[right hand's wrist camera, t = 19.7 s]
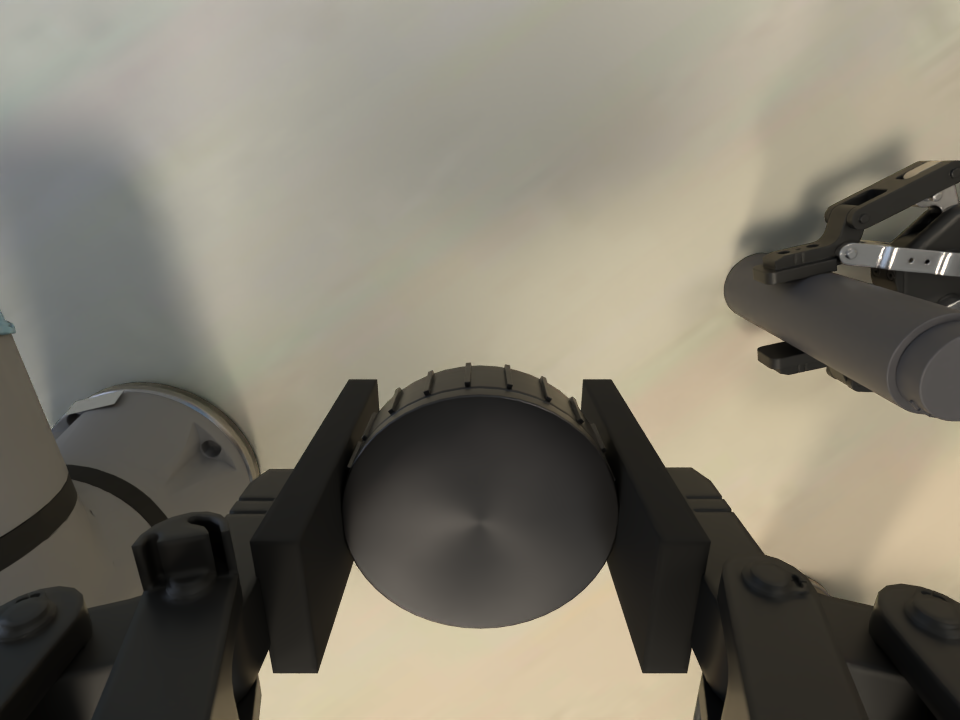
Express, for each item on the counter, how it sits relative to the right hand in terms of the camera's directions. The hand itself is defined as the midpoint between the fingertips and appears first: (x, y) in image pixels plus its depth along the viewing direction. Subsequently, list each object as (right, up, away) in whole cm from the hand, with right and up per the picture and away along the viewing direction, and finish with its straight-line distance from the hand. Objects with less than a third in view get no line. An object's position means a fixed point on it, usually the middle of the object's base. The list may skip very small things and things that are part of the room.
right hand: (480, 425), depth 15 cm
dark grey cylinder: (+19, +7, +23) cm, 30 cm away
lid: (0, -1, -4) cm, 4 cm away
